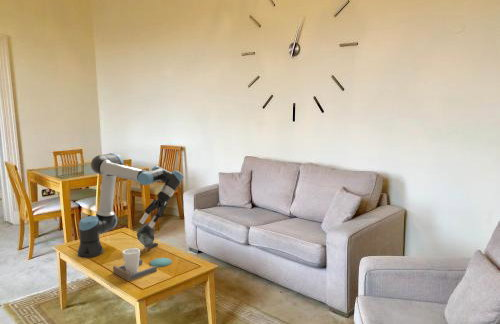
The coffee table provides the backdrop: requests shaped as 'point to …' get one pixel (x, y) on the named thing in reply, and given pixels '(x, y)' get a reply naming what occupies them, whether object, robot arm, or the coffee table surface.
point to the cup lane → (128, 277)
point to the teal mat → (160, 262)
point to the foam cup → (131, 260)
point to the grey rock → (146, 237)
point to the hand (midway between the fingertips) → (145, 224)
